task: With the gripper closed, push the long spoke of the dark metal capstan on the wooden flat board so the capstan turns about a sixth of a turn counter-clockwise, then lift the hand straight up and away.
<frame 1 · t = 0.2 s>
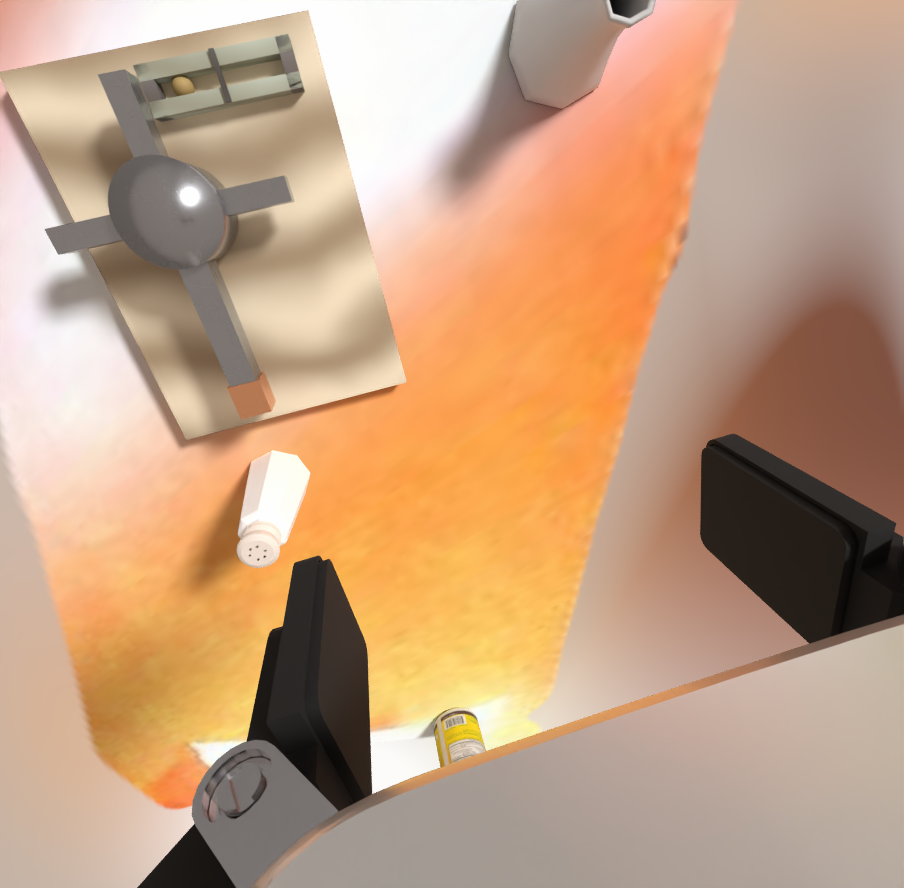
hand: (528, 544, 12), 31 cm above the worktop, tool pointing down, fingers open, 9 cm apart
capstan: (200, 266, 31), point 4 cm above the worktop, hinge at 0.0°
flask: (556, 48, 34), on the worktop
pepper shaker: (279, 475, 43), on the worktop
wooden flat board: (243, 253, 35), on the worktop
supplement bottle: (454, 719, 61), on the worktop
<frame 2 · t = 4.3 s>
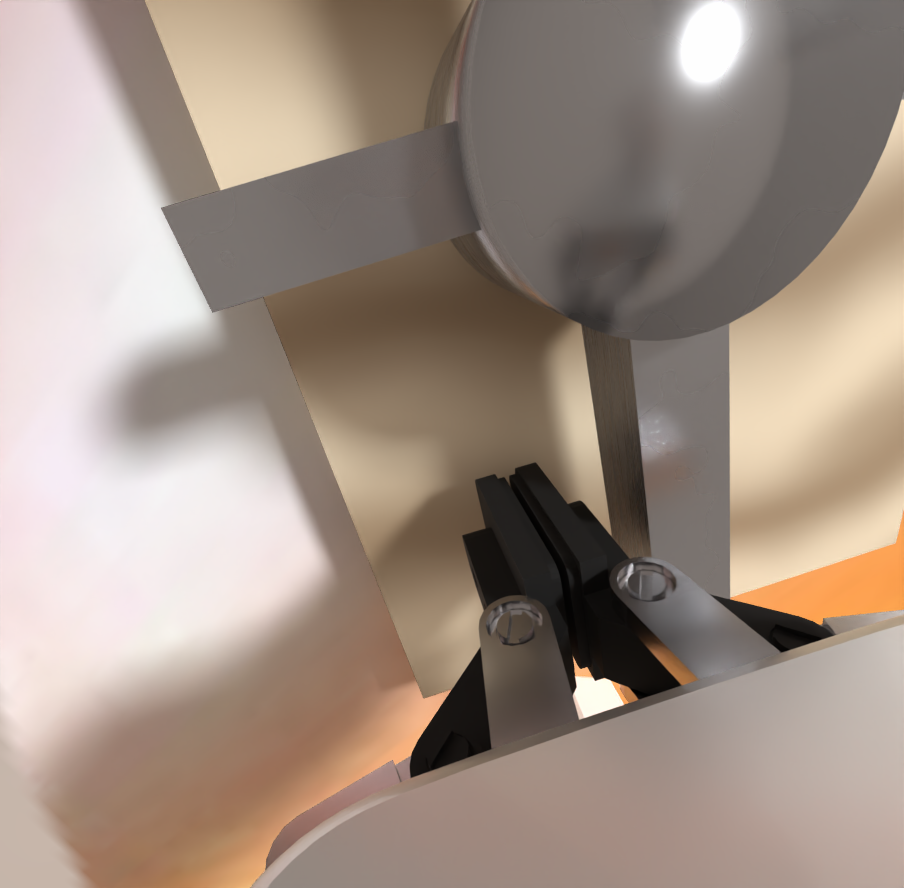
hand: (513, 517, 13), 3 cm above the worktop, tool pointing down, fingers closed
capstan: (634, 313, 10), point 4 cm above the worktop, hinge at 2.0°, touching gripper
pepper shaker: (562, 712, 21), on the worktop
wooden flat board: (621, 265, 13), on the worktop
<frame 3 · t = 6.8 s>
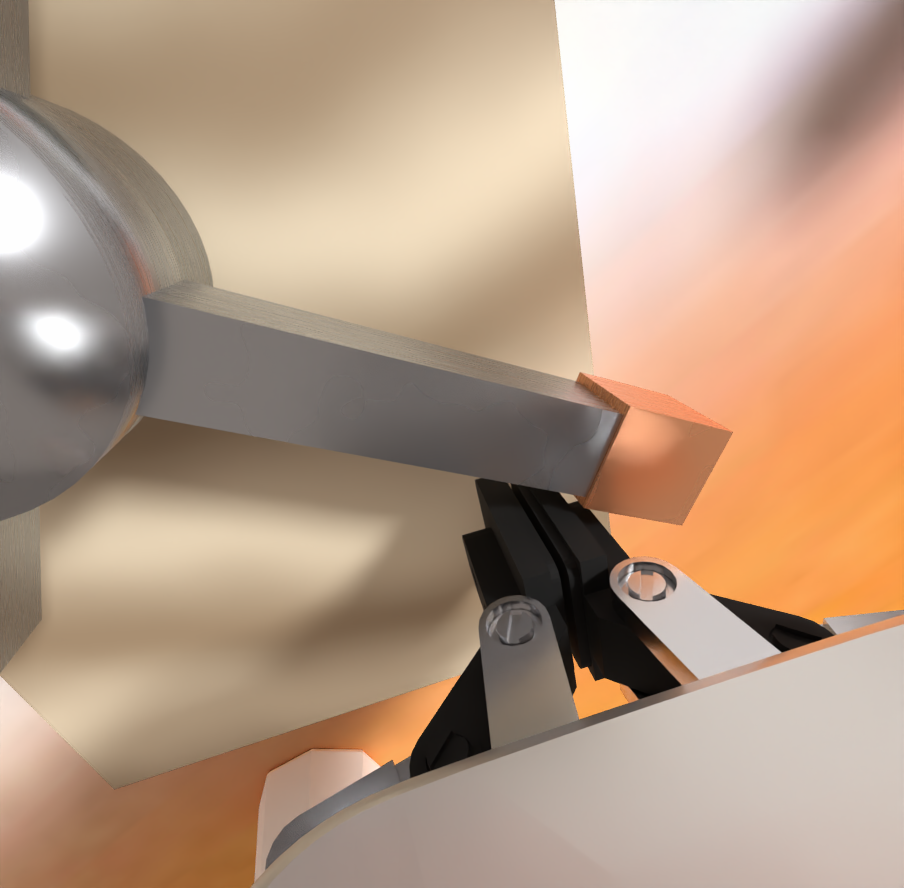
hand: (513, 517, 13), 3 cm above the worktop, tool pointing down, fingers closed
capstan: (187, 339, 8), point 4 cm above the worktop, hinge at 59.6°, touching gripper
pepper shaker: (325, 781, 21), on the worktop
wooden flat board: (235, 363, 13), on the worktop
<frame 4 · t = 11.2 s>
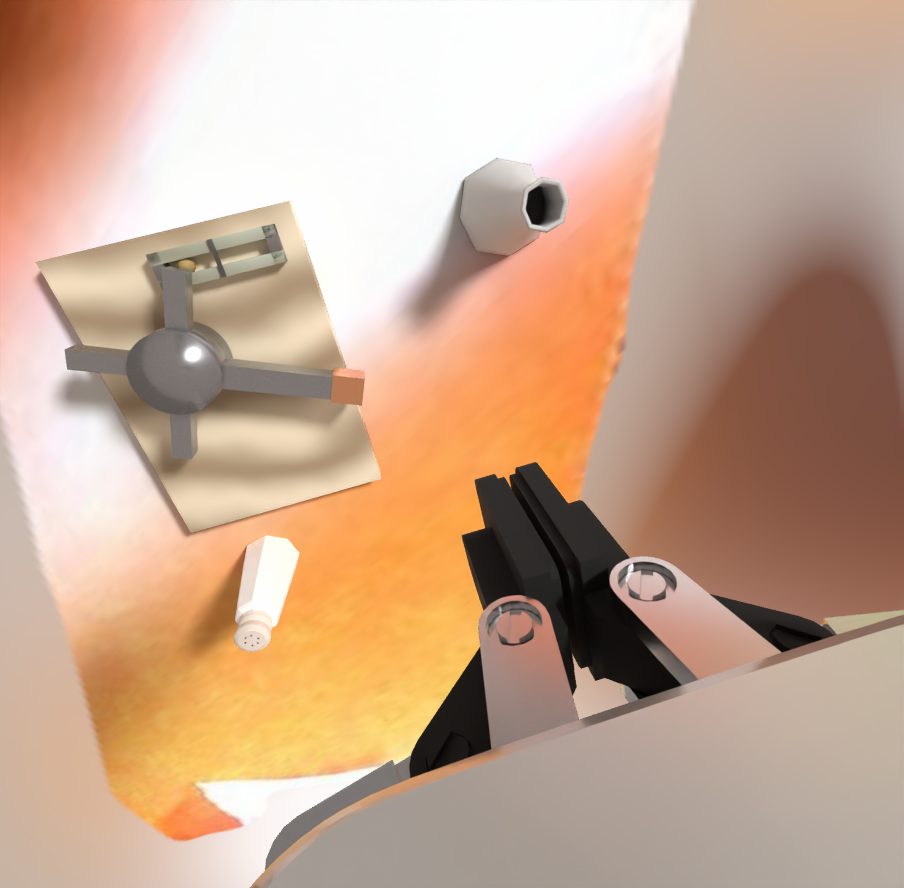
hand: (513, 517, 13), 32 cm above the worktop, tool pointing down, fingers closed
capstan: (228, 371, 37), point 4 cm above the worktop, hinge at 67.5°
flask: (501, 209, 40), on the worktop
pepper shaker: (272, 555, 49), on the worktop
wooden flat board: (238, 380, 41), on the worktop
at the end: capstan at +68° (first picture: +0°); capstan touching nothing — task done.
